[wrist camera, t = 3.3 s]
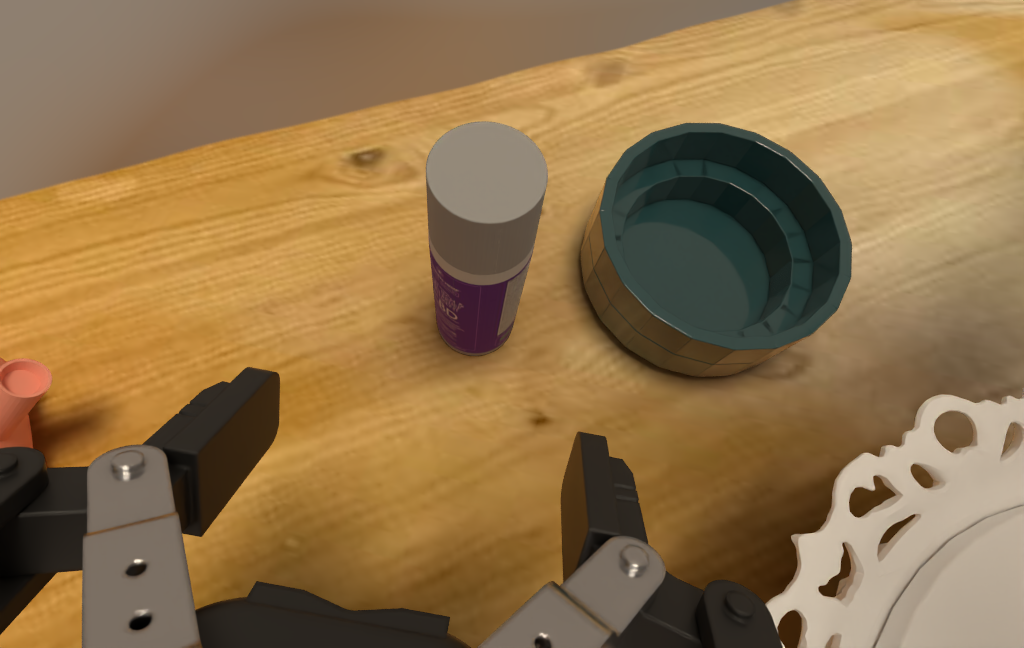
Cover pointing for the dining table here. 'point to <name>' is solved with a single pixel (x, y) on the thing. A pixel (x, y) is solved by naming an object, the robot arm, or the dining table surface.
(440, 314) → the container
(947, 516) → the bowl
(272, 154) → the dining table surface
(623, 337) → the bowl
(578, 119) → the dining table surface
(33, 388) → the teapot
